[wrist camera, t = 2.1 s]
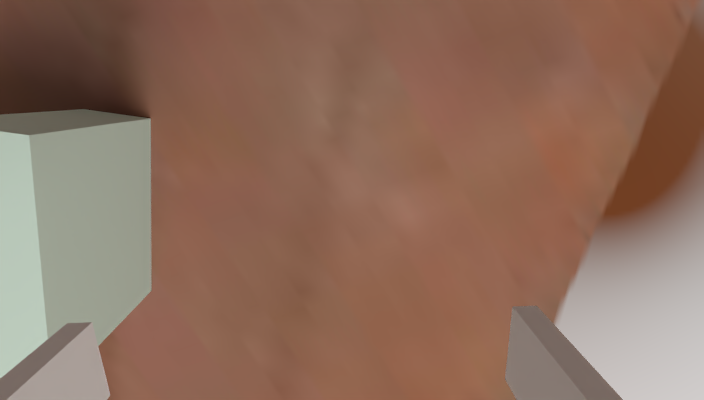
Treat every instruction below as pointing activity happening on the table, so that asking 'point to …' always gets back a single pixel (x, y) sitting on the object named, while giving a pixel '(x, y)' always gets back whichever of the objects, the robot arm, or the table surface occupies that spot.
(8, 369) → the t block
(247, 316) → the table surface
